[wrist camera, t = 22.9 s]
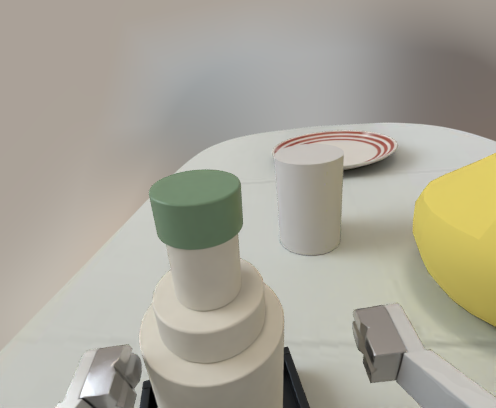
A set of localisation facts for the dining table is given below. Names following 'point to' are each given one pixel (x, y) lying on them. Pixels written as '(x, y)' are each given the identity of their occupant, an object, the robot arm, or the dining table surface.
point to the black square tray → (292, 388)
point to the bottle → (209, 303)
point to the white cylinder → (309, 197)
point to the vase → (461, 235)
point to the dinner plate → (348, 145)
